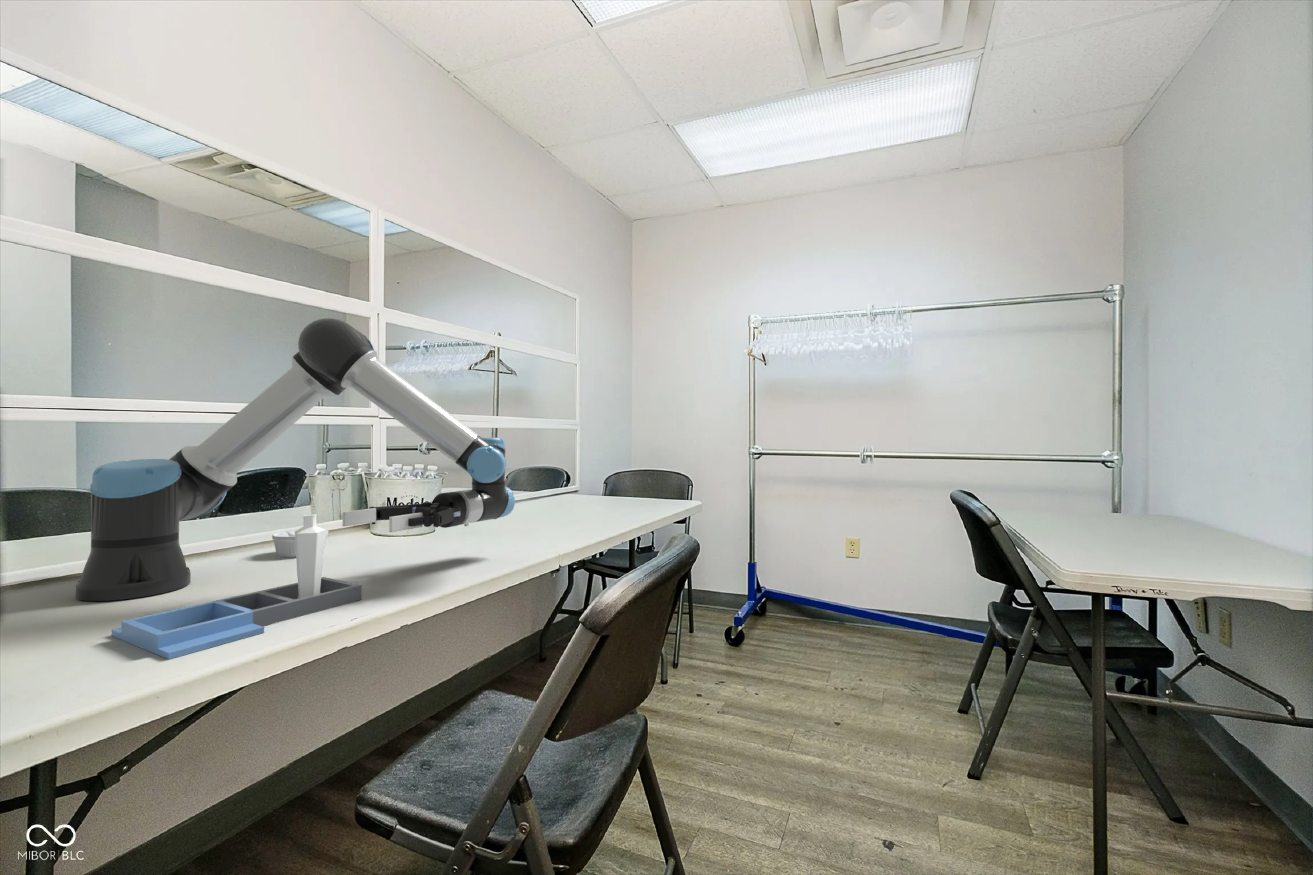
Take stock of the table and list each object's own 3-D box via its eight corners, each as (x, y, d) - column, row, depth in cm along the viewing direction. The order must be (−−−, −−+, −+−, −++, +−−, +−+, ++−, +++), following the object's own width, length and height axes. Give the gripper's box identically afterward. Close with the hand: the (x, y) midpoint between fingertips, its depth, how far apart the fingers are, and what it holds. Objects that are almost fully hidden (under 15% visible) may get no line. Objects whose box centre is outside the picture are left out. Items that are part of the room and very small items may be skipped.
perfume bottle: (301, 608, 90) (302, 517, 90) (288, 604, 92) (289, 515, 92) (330, 602, 94) (331, 514, 94) (316, 597, 96) (317, 512, 96)
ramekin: (260, 557, 127) (260, 534, 127) (301, 548, 138) (302, 527, 138) (299, 560, 124) (299, 537, 124) (338, 551, 135) (339, 529, 135)
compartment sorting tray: (313, 588, 102) (313, 574, 102) (372, 601, 94) (372, 587, 94) (111, 635, 77) (111, 617, 77) (168, 659, 69) (169, 639, 69)
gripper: (498, 530, 115) (412, 548, 96) (417, 521, 126) (325, 536, 108) (498, 494, 115) (412, 505, 96) (417, 488, 126) (325, 498, 108)
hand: (366, 521), depth 102 cm, fingers open, 13 cm apart
